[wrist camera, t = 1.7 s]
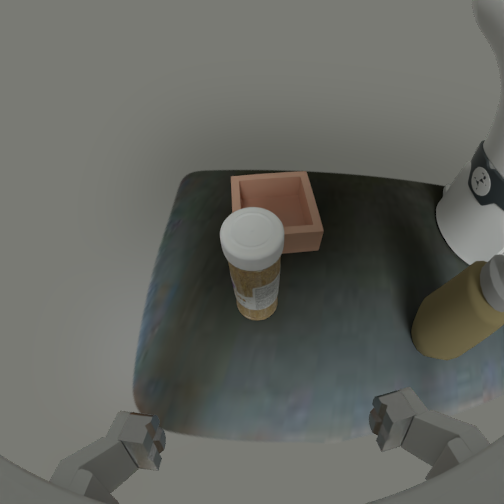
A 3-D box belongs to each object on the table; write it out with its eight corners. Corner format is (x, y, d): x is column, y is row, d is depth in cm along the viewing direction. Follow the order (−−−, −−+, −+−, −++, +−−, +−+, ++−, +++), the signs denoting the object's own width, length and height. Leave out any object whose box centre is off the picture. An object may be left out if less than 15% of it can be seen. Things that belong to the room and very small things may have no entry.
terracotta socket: (303, 191, 39) (306, 171, 36) (318, 250, 34) (323, 231, 30) (233, 197, 39) (231, 176, 36) (236, 257, 34) (233, 238, 30)
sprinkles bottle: (230, 294, 31) (209, 219, 20) (266, 277, 32) (265, 196, 21) (248, 329, 29) (235, 268, 18) (285, 310, 30) (297, 240, 19)
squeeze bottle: (463, 335, 26) (563, 263, 11) (429, 380, 24) (549, 328, 9) (427, 291, 30) (511, 195, 15) (389, 331, 28) (487, 241, 12)
